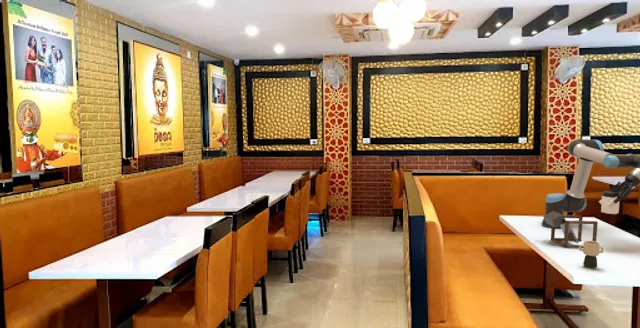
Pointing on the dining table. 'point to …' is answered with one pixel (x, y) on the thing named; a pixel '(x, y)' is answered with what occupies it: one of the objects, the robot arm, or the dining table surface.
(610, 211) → the jar
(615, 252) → the dining table surface
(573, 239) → the trapdoor
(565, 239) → the trapdoor frame
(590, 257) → the character mug
